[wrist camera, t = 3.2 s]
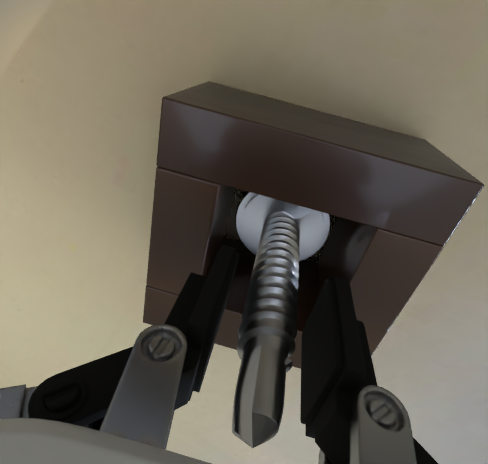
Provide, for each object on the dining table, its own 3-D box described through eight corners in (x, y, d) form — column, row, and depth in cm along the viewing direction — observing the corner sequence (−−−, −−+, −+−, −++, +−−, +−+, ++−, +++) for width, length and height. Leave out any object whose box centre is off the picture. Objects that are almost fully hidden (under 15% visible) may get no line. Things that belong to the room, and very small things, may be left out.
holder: (208, 80, 16) (161, 96, 11) (426, 139, 16) (486, 185, 10) (181, 257, 22) (142, 322, 16) (341, 302, 21) (352, 384, 16)
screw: (248, 245, 20) (236, 170, 18) (328, 242, 19) (326, 163, 17) (179, 488, 9) (124, 372, 7) (360, 511, 8) (368, 385, 6)
